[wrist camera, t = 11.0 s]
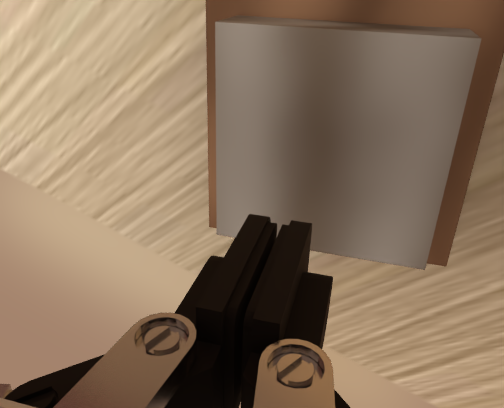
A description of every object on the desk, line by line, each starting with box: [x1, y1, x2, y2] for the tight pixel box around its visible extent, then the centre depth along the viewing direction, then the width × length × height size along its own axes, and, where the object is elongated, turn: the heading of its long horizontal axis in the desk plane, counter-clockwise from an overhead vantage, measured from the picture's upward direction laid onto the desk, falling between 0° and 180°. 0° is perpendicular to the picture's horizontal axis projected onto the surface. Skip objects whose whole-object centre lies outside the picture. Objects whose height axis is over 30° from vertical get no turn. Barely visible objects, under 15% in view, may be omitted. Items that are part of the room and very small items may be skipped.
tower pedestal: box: [206, 0, 504, 270], centre depth 22 cm, size 13×13×4 cm
